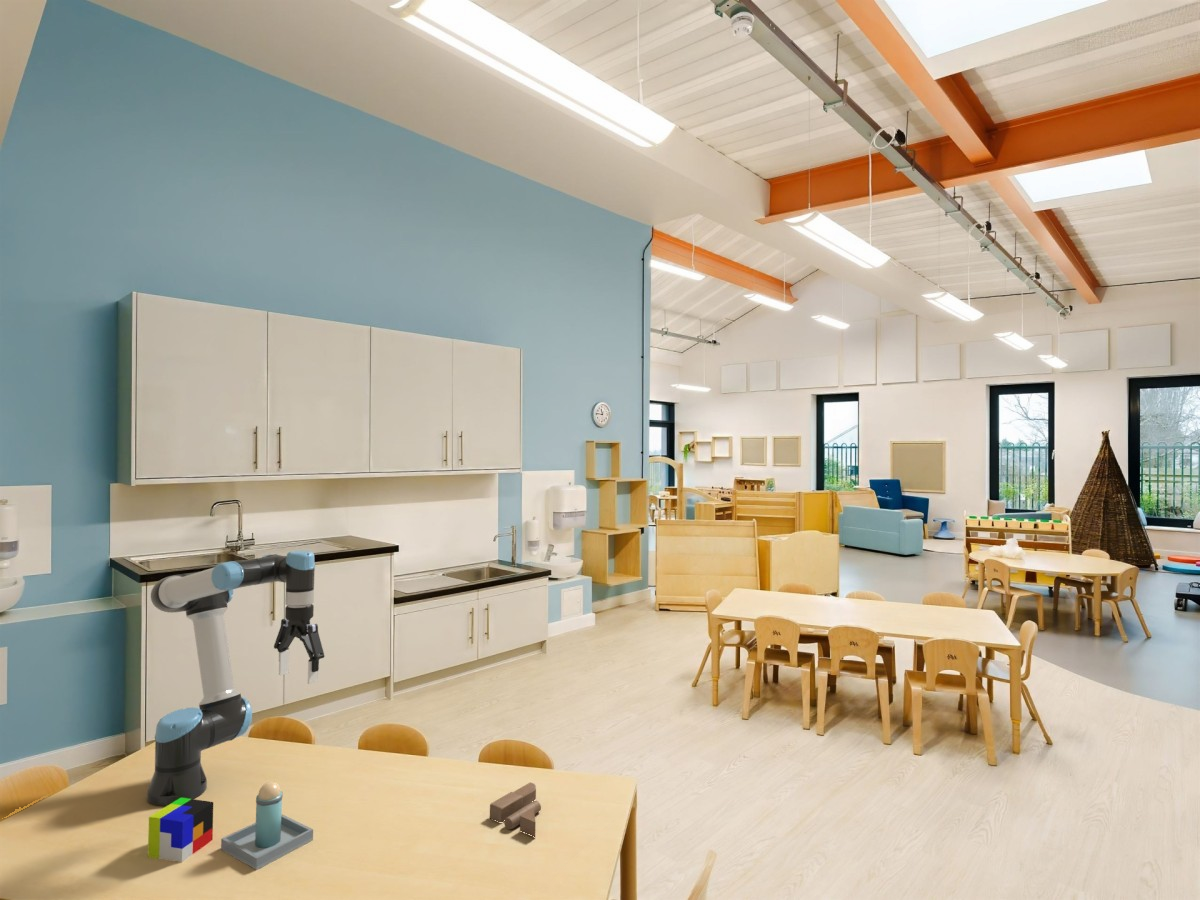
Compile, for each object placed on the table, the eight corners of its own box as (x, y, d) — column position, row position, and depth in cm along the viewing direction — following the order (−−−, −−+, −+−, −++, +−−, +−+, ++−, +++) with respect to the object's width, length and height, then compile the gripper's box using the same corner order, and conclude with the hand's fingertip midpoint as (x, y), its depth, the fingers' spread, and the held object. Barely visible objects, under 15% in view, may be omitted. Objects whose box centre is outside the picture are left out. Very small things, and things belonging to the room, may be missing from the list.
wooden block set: (487, 801, 191) (529, 777, 206) (486, 821, 191) (529, 796, 206) (532, 820, 181) (573, 794, 196) (532, 842, 181) (573, 813, 196)
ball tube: (249, 842, 176) (251, 784, 176) (272, 832, 181) (274, 775, 181) (263, 851, 173) (265, 791, 173) (285, 840, 178) (287, 781, 178)
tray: (221, 849, 174) (221, 838, 174) (277, 822, 188) (277, 812, 188) (256, 870, 166) (256, 858, 166) (313, 840, 179) (313, 829, 179)
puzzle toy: (181, 862, 169) (182, 821, 169) (147, 856, 171) (148, 816, 171) (212, 840, 179) (213, 802, 179) (180, 835, 181) (180, 797, 181)
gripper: (338, 608, 194) (336, 682, 194) (285, 597, 207) (283, 667, 207) (315, 613, 188) (313, 690, 187) (262, 601, 201) (260, 673, 201)
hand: (298, 678), depth 197 cm, fingers open, 13 cm apart
